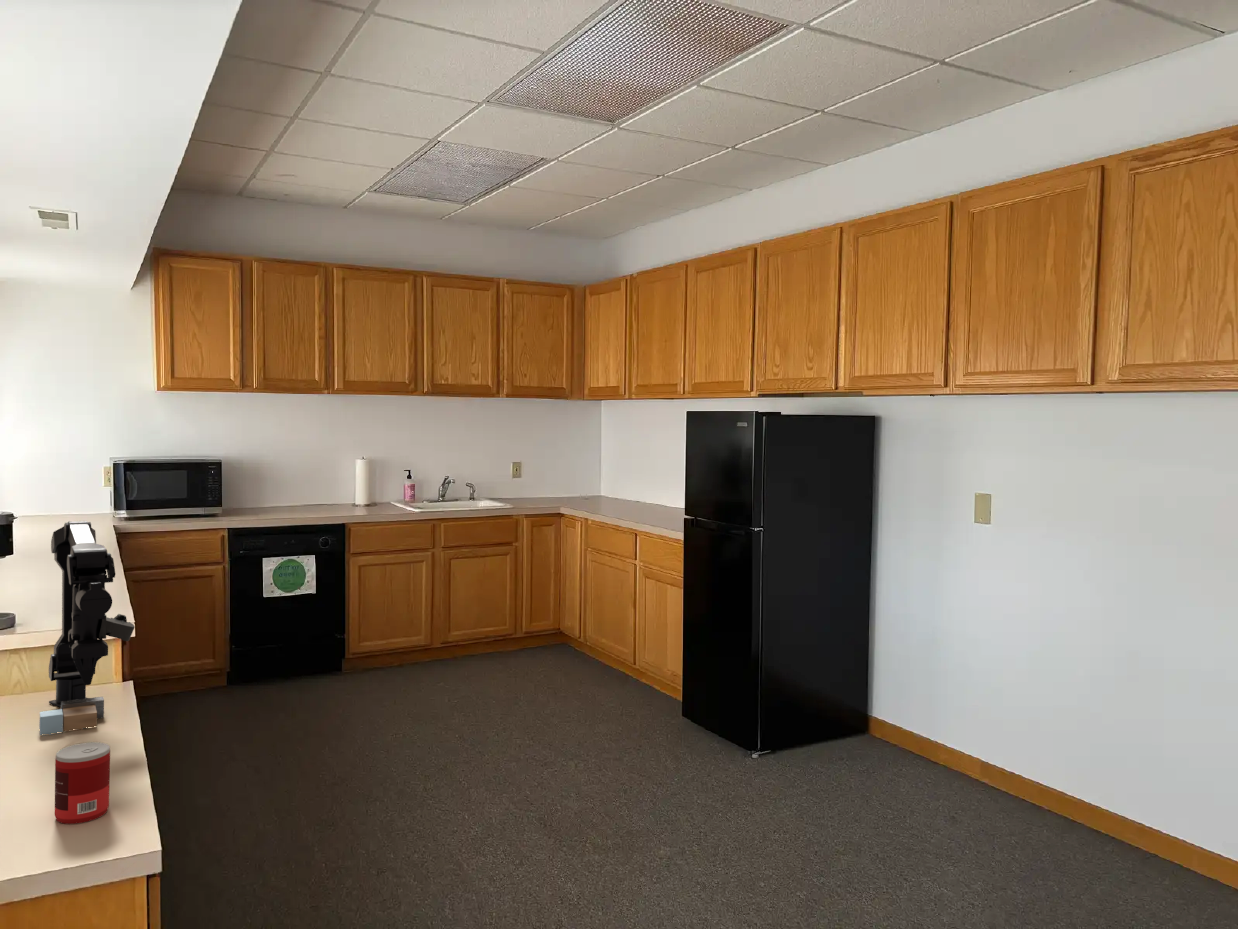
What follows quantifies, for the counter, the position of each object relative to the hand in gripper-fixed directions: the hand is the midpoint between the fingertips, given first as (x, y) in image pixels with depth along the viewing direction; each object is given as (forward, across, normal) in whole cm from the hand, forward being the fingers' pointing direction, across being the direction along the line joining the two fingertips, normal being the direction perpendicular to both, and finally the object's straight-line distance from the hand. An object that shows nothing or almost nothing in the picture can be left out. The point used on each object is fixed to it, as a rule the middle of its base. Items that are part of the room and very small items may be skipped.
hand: (86, 682), depth 187 cm
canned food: (+11, -44, +3) cm, 45 cm away
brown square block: (+11, +6, +1) cm, 13 cm away
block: (+11, +5, +6) cm, 14 cm away
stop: (+11, +11, 0) cm, 16 cm away
